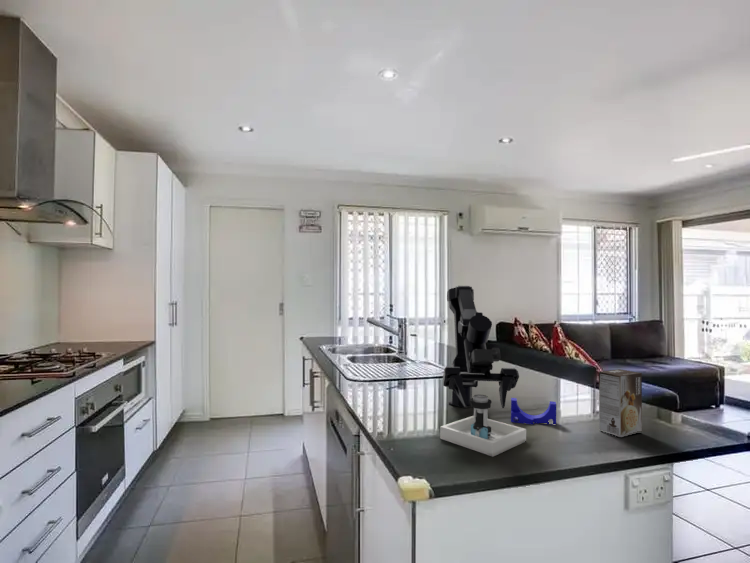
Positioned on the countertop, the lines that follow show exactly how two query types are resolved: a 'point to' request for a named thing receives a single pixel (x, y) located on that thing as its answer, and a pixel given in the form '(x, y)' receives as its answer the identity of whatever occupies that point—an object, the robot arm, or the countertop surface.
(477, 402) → the push button
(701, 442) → the countertop surface
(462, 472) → the countertop surface
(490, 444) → the tray
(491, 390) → the countertop surface
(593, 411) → the countertop surface
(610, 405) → the coffee box
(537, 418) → the blue u-shaped cradle
